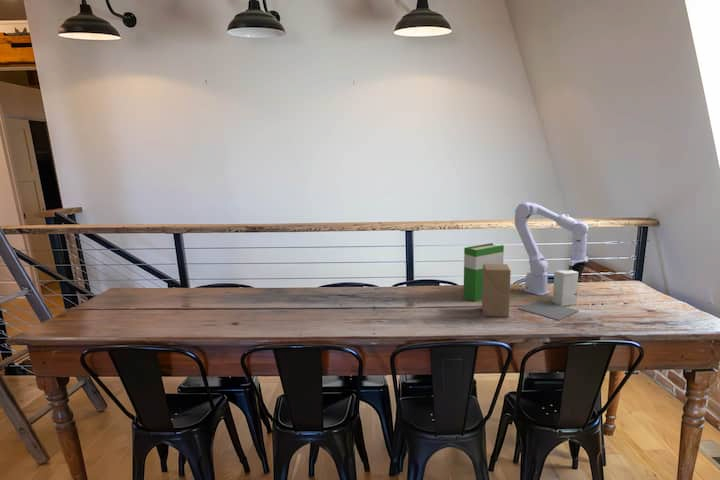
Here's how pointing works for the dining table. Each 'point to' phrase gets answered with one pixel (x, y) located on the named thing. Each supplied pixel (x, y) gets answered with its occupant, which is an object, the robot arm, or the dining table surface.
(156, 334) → the dining table surface
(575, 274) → the skincare box
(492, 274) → the wooden block
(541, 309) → the mat
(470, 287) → the hardback book
